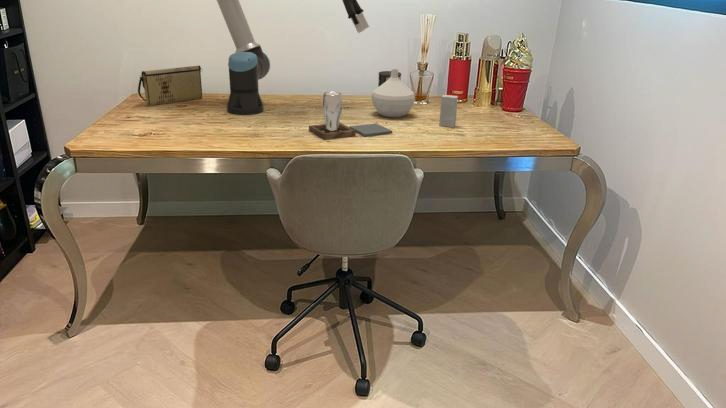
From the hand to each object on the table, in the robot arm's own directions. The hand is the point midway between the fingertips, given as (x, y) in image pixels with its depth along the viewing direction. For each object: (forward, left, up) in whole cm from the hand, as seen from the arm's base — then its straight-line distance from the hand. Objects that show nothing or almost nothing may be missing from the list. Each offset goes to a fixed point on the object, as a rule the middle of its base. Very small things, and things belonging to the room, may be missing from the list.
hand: (364, 30), depth 226 cm
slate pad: (-13, -30, -34) cm, 47 cm away
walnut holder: (-28, -27, -34) cm, 52 cm away
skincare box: (+20, -35, -34) cm, 53 cm away
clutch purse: (-70, +47, -34) cm, 91 cm away
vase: (+9, -11, -34) cm, 37 cm away
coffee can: (+19, +8, -34) cm, 40 cm away
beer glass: (-28, -27, -34) cm, 52 cm away
